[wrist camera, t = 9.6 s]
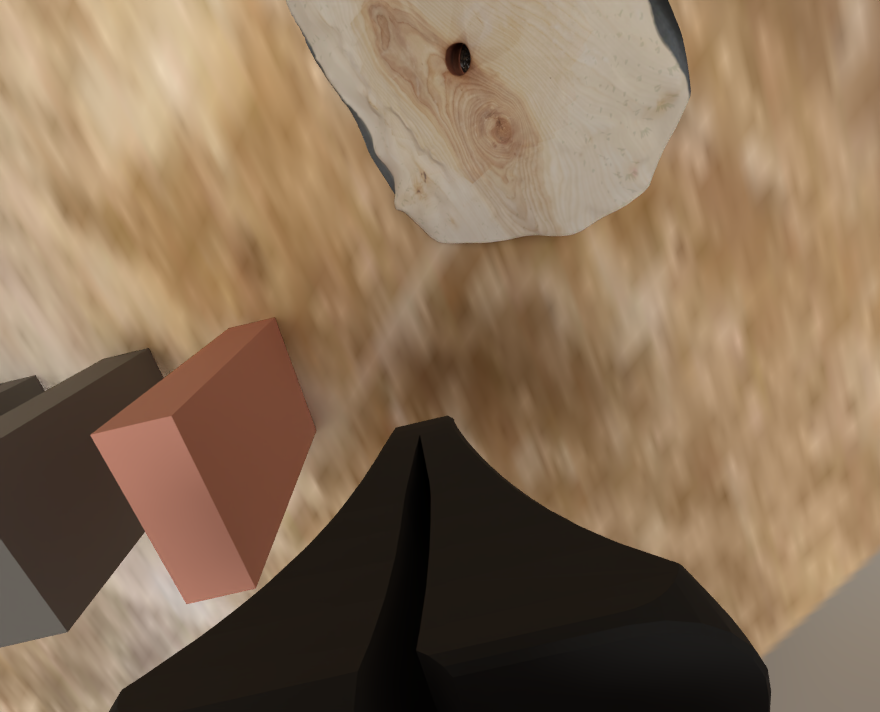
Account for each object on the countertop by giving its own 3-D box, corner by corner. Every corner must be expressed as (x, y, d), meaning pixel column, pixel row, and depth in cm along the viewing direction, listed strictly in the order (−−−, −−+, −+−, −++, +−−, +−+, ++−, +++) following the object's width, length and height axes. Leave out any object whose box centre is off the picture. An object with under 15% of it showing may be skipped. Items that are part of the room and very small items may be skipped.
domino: (148, 348, 17) (-51, 468, 10) (201, 457, 19) (67, 632, 12) (103, 359, 17) (-130, 488, 10) (160, 467, 19) (-1, 647, 12)
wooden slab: (354, 198, 20) (643, 249, 16) (301, 219, 17) (633, 286, 13) (331, -188, 14) (794, -262, 10) (242, -251, 11) (835, -389, 7)
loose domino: (274, 440, 19) (186, 604, 11) (228, 328, 17) (90, 435, 10) (316, 430, 19) (255, 588, 11) (274, 317, 17) (171, 415, 10)
